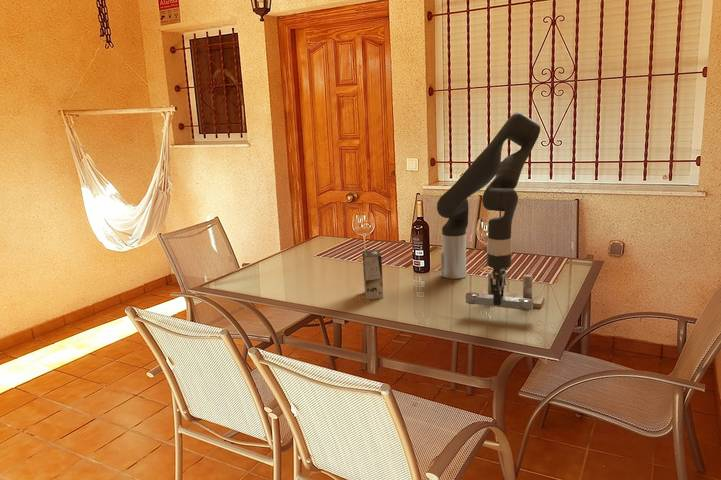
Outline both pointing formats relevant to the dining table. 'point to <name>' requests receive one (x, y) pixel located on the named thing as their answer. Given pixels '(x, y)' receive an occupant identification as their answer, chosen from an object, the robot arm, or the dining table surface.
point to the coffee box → (372, 274)
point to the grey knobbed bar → (506, 302)
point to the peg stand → (526, 294)
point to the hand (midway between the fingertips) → (498, 302)
